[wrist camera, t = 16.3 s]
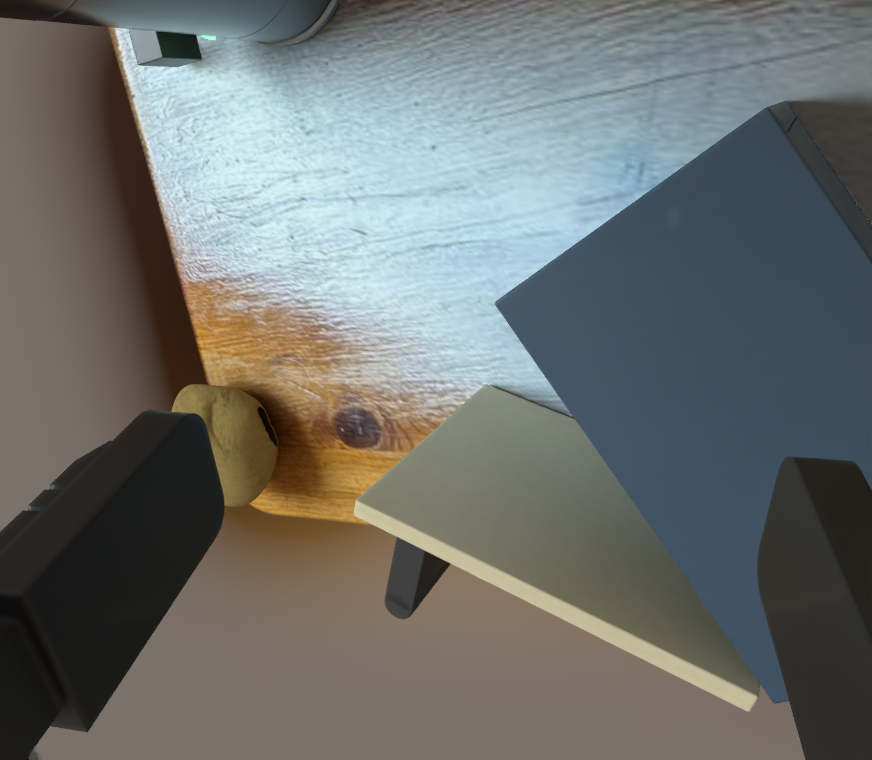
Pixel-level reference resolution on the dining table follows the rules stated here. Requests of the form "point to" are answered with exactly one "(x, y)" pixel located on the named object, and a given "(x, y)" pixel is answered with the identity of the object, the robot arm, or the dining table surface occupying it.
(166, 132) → the dining table surface
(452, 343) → the dining table surface
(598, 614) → the cupboard door
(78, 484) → the robot arm
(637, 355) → the cupboard
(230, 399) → the potato
